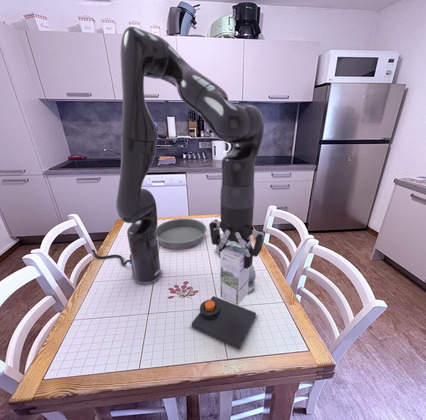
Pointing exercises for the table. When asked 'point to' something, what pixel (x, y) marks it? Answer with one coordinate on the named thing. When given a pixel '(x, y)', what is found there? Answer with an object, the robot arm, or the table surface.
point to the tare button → (209, 306)
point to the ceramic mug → (252, 276)
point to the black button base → (225, 322)
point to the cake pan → (180, 233)
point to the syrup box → (233, 274)
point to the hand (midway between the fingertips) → (235, 262)
